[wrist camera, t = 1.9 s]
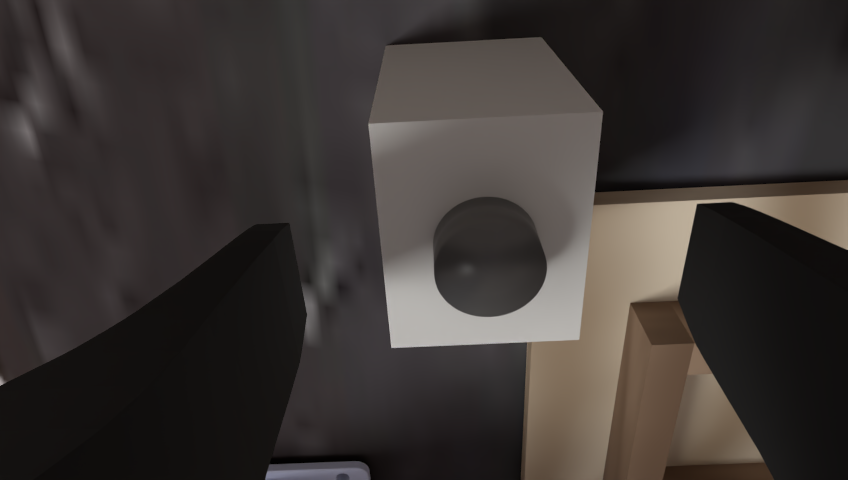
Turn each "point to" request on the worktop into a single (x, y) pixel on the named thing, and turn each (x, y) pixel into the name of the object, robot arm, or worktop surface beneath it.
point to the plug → (483, 191)
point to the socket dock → (650, 346)
